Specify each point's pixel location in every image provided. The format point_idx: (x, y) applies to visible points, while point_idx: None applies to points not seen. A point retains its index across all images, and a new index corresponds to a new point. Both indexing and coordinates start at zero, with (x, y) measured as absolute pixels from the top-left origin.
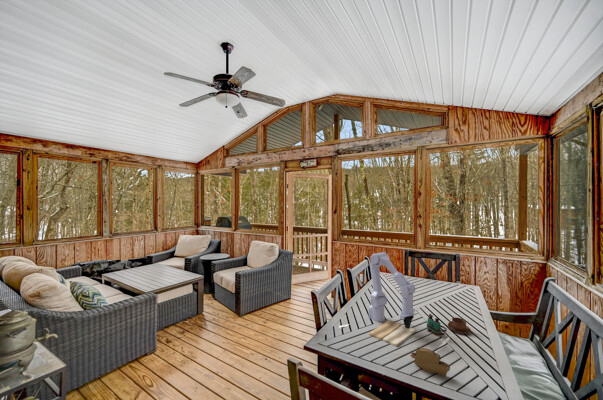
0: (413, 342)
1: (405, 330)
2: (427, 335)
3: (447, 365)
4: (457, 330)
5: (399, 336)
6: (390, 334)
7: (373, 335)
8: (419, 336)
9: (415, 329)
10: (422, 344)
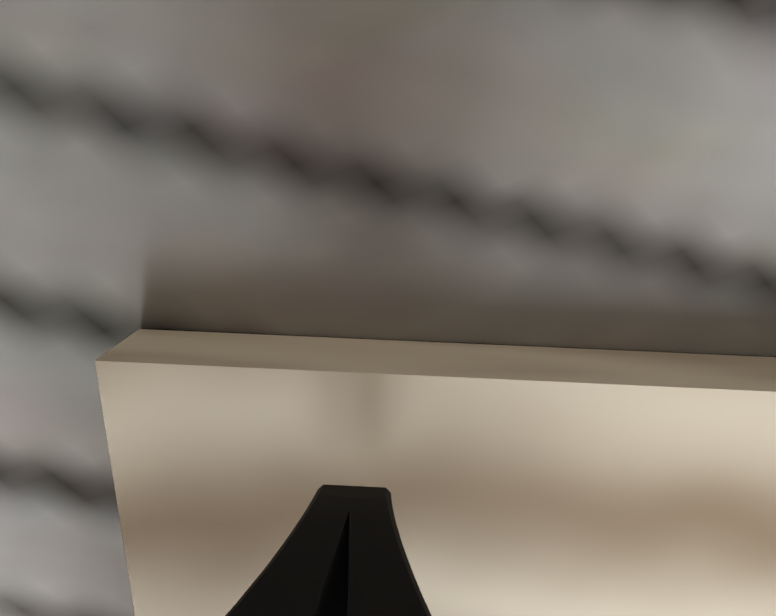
0: (608, 209)
1: None
2: (27, 77)
3: None
4: None
5: (741, 502)
6: None
7: None
8: (234, 208)
9: (110, 363)
10: (565, 3)
